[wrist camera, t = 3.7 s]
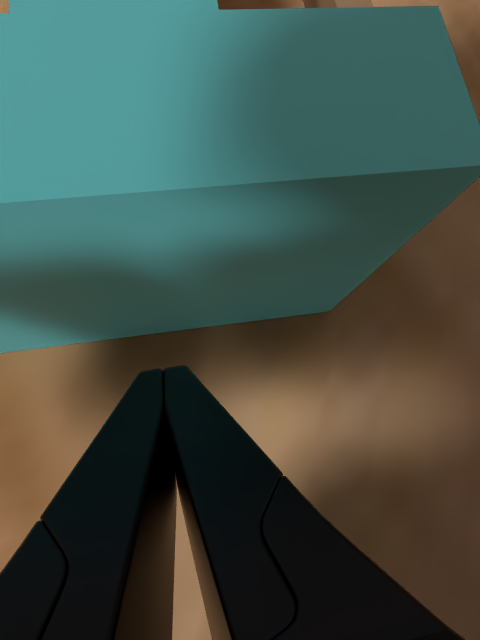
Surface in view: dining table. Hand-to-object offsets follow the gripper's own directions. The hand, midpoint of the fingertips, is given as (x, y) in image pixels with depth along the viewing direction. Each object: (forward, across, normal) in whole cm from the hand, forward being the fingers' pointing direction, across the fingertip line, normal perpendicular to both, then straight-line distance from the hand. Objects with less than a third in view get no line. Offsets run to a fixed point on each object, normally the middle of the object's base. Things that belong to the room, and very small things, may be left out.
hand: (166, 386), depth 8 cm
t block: (+10, 0, -1) cm, 10 cm away
